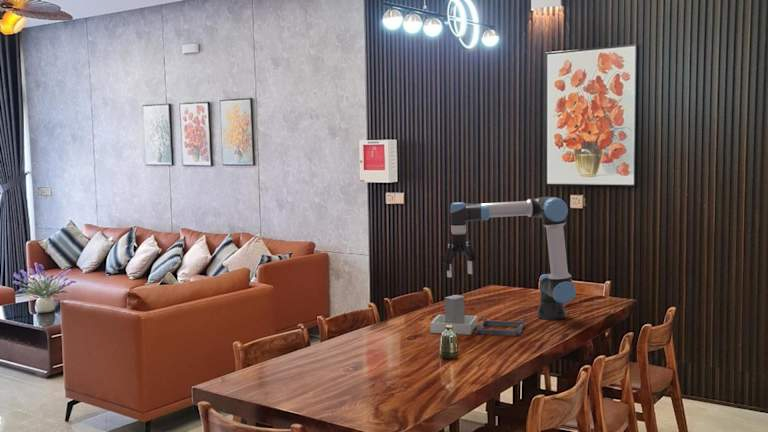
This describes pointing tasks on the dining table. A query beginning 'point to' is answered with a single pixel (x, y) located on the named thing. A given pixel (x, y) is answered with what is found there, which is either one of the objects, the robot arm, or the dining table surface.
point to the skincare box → (455, 309)
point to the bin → (454, 325)
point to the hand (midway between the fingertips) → (459, 275)
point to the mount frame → (486, 322)
